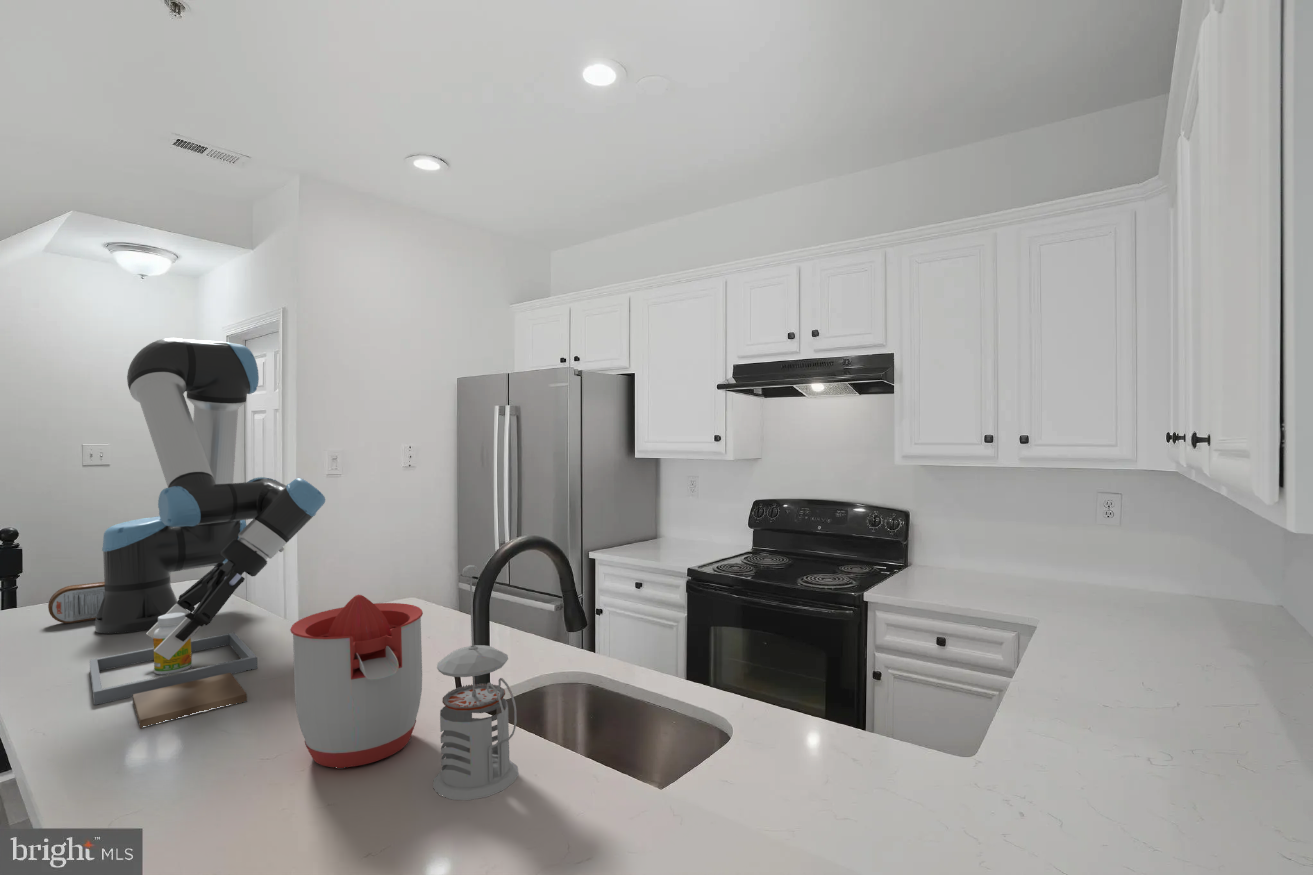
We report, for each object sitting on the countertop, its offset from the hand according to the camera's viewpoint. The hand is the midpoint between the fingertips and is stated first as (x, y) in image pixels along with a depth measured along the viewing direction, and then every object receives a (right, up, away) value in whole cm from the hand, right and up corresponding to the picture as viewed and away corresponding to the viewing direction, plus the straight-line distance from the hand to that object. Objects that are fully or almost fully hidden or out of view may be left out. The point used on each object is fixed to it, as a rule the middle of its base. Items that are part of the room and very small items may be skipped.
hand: (156, 646), depth 115 cm
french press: (+67, -4, -39) cm, 78 cm away
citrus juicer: (+50, -4, -31) cm, 59 cm away
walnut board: (+15, -4, -13) cm, 21 cm away
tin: (-43, -6, +37) cm, 57 cm away
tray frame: (+2, -5, +2) cm, 5 cm away
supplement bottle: (+2, -5, +2) cm, 5 cm away
